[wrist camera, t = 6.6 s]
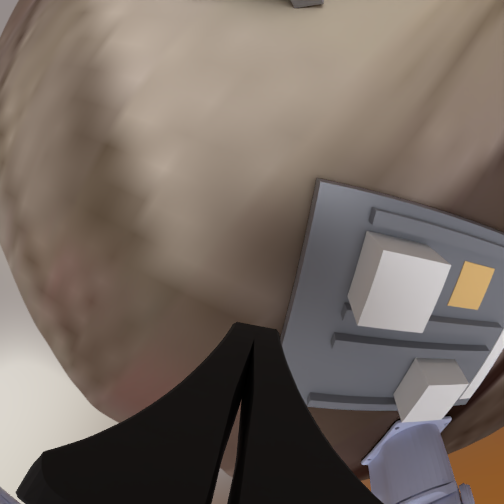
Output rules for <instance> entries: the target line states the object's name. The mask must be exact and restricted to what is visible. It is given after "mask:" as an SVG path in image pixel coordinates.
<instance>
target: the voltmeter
mask: <svg viewBox="0 0 504 504" xmlns="http://www.w3.org/2000/svg"><path fill="white" fill-rule="evenodd" d="M291 2H292V4H293V6H294V8H299V7H305V6H311V5H318V4H323V0H291Z"/></svg>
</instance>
